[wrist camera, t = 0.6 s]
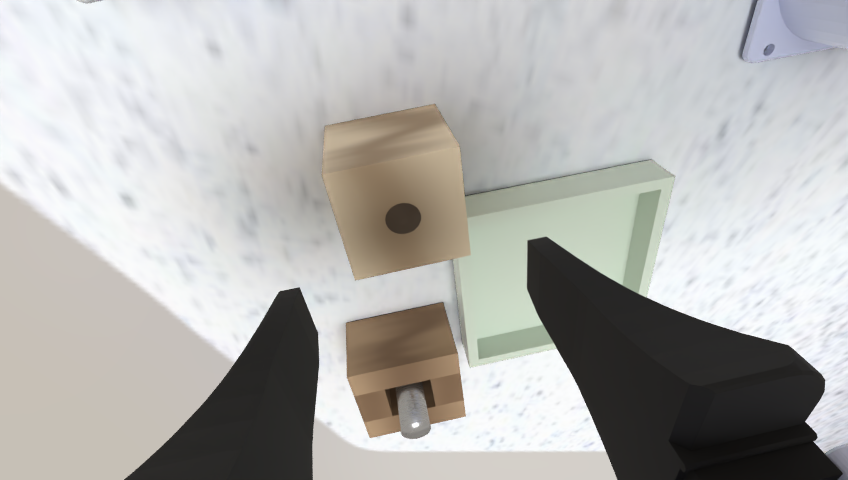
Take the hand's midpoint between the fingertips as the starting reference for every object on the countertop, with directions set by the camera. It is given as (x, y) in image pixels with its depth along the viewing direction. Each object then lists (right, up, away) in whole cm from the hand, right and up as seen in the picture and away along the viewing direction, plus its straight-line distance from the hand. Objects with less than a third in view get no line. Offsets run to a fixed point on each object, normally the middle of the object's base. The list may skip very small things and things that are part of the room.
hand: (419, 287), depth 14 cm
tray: (+7, 0, +12) cm, 14 cm away
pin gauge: (-1, -5, +14) cm, 15 cm away
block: (-1, +5, +7) cm, 9 cm away
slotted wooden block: (-1, -5, +14) cm, 15 cm away
